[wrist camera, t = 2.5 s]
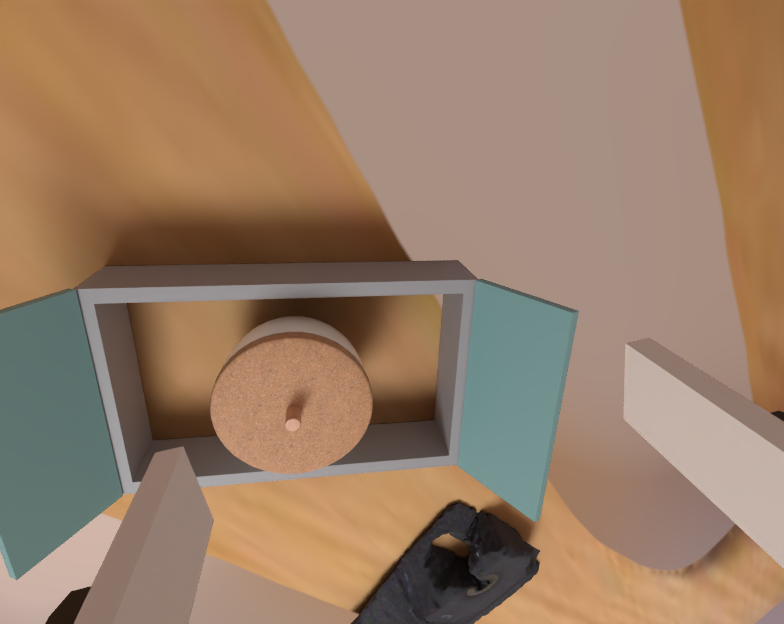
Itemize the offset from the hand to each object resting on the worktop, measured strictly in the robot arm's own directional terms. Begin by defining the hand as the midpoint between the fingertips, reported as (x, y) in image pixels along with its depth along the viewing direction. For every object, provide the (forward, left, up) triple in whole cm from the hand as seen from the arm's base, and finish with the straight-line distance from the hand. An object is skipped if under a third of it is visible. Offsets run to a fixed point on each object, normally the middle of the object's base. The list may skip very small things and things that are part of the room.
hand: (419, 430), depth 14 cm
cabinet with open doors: (-5, -10, -24) cm, 26 cm away
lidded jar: (-5, -10, -24) cm, 27 cm away
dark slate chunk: (+9, -38, -25) cm, 47 cm away
